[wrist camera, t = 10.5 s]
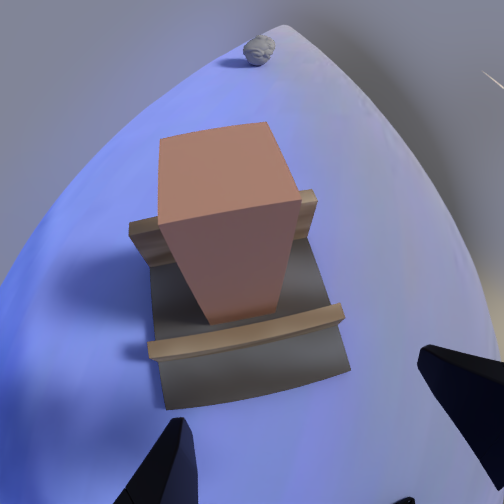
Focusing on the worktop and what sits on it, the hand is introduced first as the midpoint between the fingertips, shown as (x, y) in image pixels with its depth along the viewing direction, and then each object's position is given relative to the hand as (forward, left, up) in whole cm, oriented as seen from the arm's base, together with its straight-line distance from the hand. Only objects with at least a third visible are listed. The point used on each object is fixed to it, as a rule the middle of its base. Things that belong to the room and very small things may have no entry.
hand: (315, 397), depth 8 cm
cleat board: (+7, +2, -12) cm, 14 cm away
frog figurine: (+56, -12, -12) cm, 58 cm away
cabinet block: (+9, +1, -11) cm, 14 cm away
